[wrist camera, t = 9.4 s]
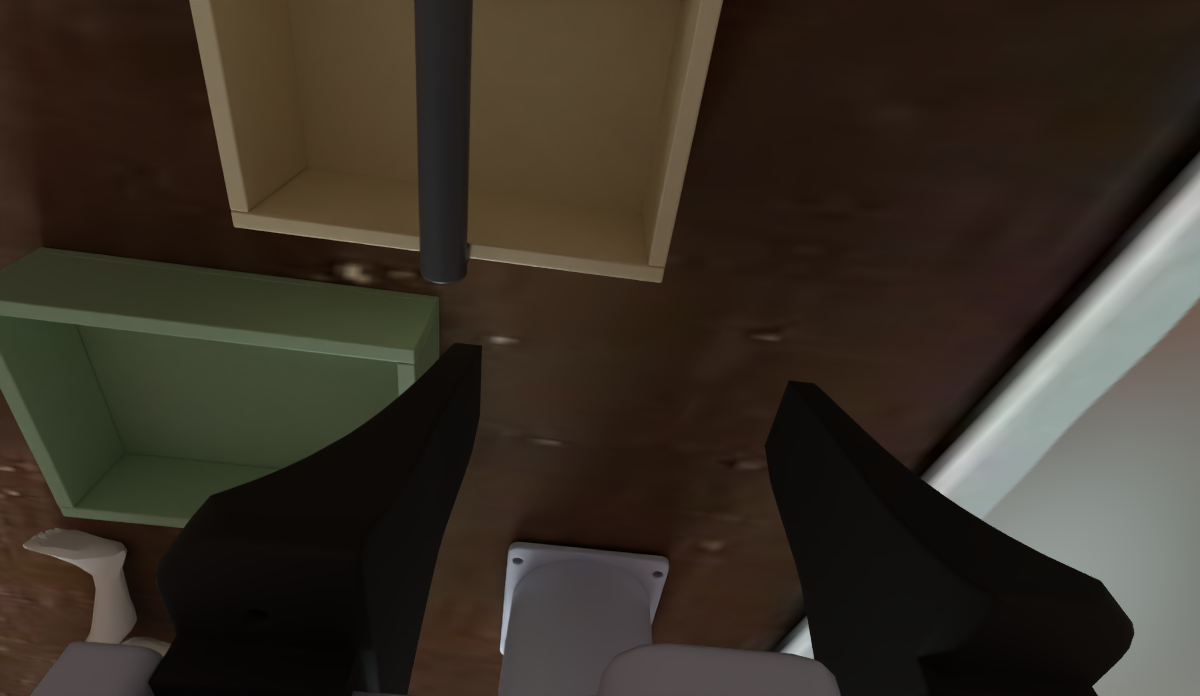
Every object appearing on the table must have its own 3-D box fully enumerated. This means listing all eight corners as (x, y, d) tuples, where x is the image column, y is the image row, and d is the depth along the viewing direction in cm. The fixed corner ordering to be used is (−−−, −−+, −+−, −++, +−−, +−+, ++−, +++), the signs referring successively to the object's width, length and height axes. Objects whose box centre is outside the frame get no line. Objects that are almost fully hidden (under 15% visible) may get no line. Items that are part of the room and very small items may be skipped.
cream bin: (653, 224, 22) (666, 313, 17) (299, 176, 21) (199, 254, 16) (706, -46, 17) (746, -37, 12) (261, -120, 17) (105, -144, 11)
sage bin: (440, 487, 29) (420, 552, 26) (121, 454, 28) (62, 516, 25) (439, 296, 23) (414, 349, 20) (40, 246, 22) (-47, 294, 19)
